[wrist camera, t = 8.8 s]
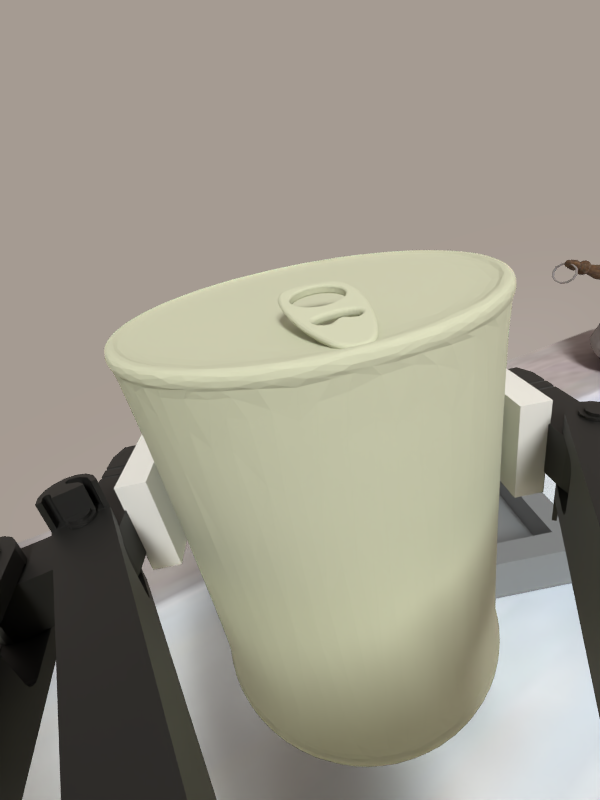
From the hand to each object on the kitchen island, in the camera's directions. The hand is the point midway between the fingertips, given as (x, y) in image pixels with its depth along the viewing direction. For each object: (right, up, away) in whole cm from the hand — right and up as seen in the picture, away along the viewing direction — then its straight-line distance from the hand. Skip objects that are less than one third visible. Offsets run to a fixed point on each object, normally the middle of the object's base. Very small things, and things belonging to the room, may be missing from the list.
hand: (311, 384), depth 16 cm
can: (+2, -8, -1) cm, 9 cm away
